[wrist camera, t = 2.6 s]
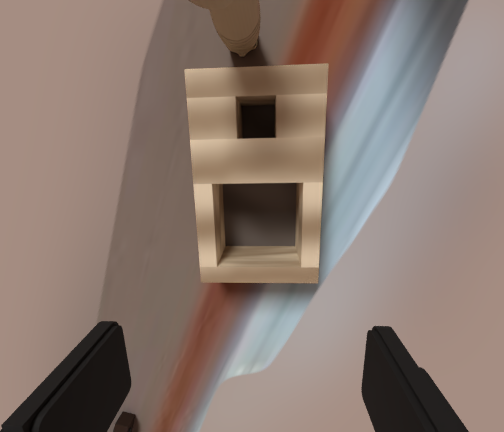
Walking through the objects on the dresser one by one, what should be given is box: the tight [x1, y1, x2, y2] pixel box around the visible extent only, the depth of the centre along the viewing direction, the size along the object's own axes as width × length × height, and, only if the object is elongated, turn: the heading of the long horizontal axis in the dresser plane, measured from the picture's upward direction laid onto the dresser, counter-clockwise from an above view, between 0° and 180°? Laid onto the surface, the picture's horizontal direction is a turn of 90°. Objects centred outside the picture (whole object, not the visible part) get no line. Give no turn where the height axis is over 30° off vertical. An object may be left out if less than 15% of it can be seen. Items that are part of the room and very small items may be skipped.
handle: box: [189, 0, 260, 57], centre depth 20 cm, size 5×6×15 cm
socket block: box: [184, 64, 328, 283], centre depth 28 cm, size 20×12×6 cm, turn 1°
